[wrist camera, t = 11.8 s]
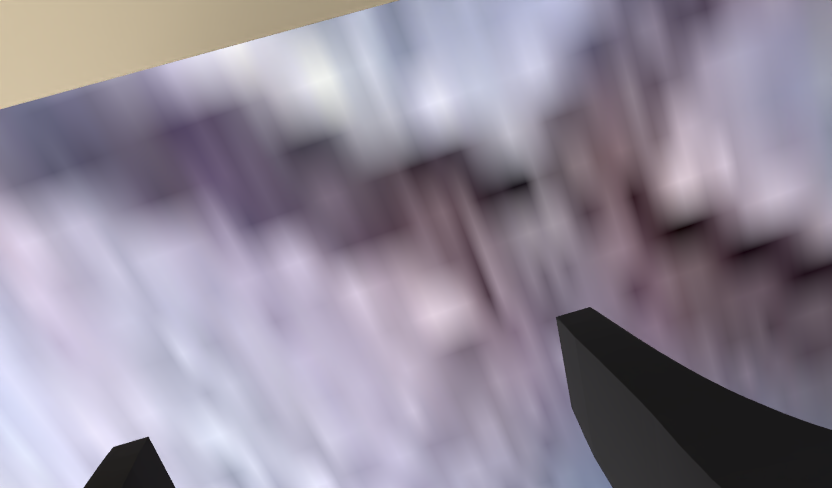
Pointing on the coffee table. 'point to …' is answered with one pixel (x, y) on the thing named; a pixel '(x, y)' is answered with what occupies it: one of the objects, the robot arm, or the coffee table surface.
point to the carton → (133, 36)
